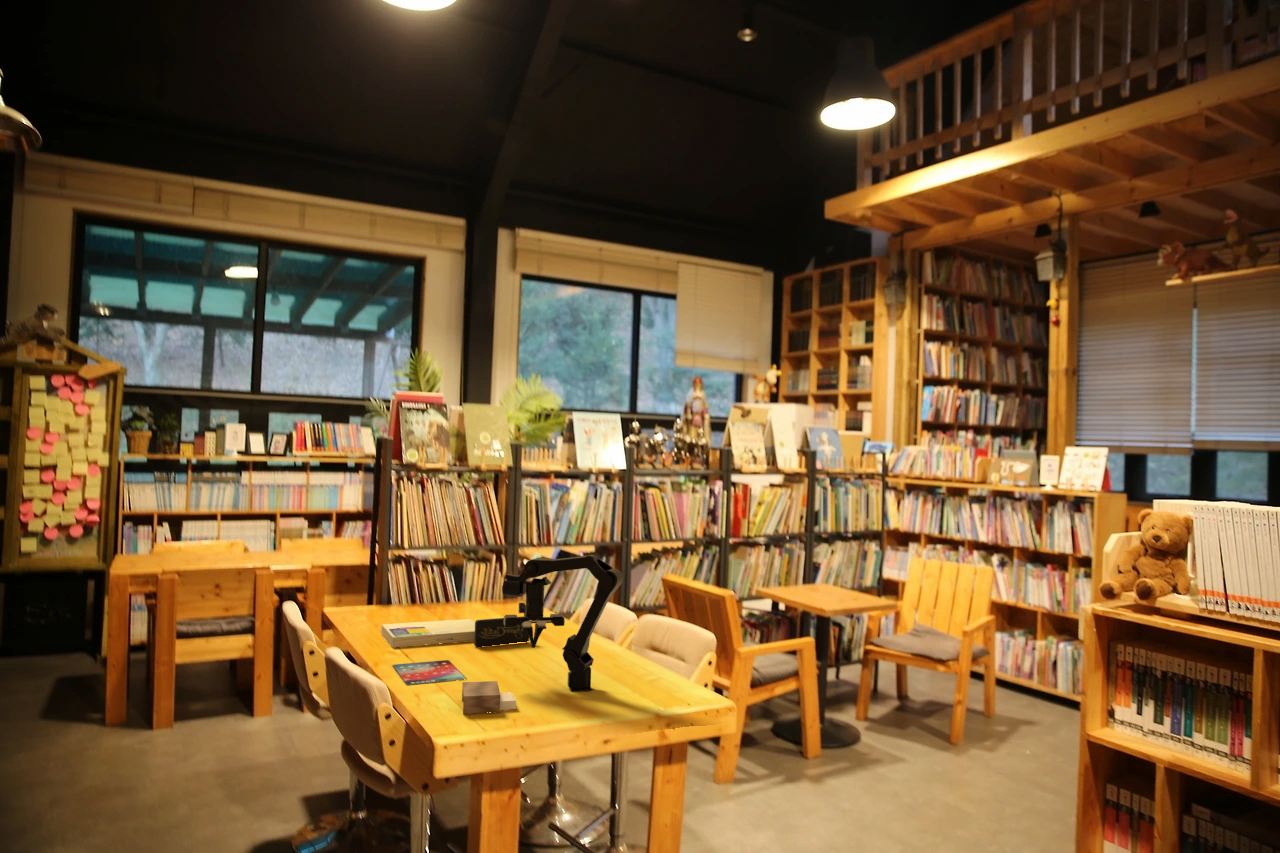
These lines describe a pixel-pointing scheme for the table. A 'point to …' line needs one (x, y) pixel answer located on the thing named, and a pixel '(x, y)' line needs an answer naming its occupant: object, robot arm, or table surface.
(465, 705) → the wood grain block
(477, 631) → the nameplate
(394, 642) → the puzzle box
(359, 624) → the table surface
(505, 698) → the beige block
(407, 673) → the tablet
